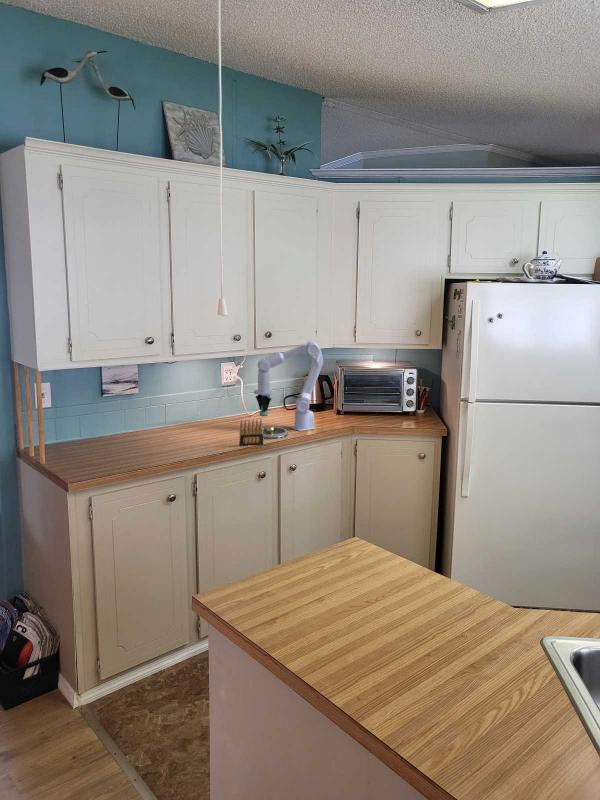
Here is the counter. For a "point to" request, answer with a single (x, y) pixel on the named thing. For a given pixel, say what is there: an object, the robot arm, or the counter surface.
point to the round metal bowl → (274, 432)
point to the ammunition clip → (253, 438)
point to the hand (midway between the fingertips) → (263, 410)
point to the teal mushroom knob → (263, 412)
